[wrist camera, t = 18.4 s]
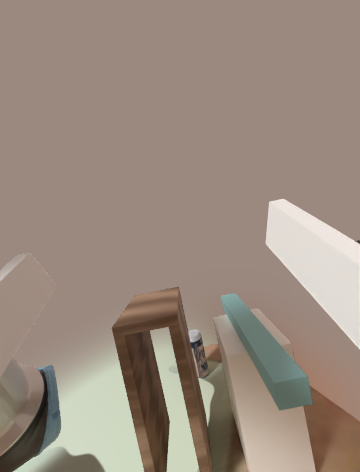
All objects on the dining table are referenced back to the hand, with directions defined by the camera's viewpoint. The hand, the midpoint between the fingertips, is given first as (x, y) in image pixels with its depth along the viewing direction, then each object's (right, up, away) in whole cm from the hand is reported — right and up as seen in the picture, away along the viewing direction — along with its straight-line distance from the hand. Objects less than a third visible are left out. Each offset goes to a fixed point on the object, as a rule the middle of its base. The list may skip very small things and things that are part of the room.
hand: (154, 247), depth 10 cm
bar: (+13, -17, +20) cm, 29 cm away
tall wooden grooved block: (+2, -41, +24) cm, 48 cm away
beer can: (+8, -40, +43) cm, 59 cm away
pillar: (+18, -38, +24) cm, 48 cm away
